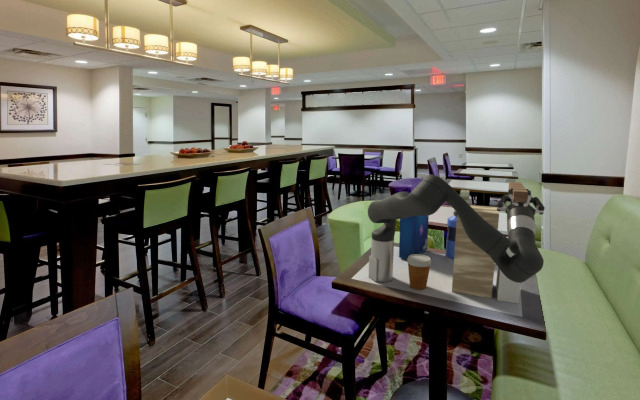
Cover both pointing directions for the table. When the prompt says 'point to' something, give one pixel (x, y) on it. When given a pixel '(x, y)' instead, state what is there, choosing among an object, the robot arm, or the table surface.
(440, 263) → the table surface
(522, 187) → the walnut block
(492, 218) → the birch rack
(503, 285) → the grey rectangular block
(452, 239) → the water bottle
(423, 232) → the book
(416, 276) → the disposable coffee cup
